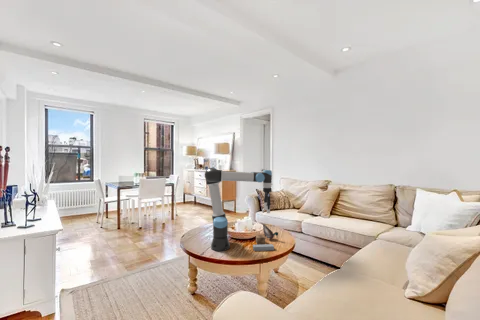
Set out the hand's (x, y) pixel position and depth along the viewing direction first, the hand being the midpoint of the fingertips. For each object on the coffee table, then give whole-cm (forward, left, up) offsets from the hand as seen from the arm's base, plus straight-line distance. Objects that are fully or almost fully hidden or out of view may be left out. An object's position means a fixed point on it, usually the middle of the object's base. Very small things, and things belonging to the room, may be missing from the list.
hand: (266, 211), depth 208 cm
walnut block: (-7, -7, -26) cm, 27 cm away
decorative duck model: (+5, 0, -25) cm, 26 cm away
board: (-7, -21, -25) cm, 34 cm away
